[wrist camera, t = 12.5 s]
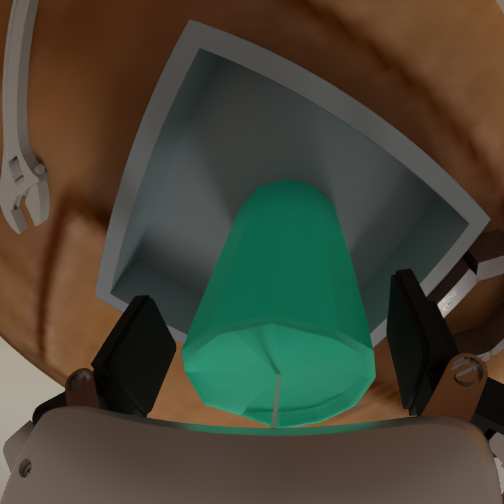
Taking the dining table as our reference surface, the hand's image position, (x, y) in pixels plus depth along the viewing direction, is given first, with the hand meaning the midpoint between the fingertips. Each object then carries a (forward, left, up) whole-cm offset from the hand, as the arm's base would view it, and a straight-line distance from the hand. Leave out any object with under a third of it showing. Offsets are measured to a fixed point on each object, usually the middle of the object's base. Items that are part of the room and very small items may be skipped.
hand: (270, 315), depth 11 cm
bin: (0, 0, -8) cm, 8 cm away
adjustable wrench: (+22, -1, -9) cm, 24 cm away
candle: (0, 0, -7) cm, 7 cm away
